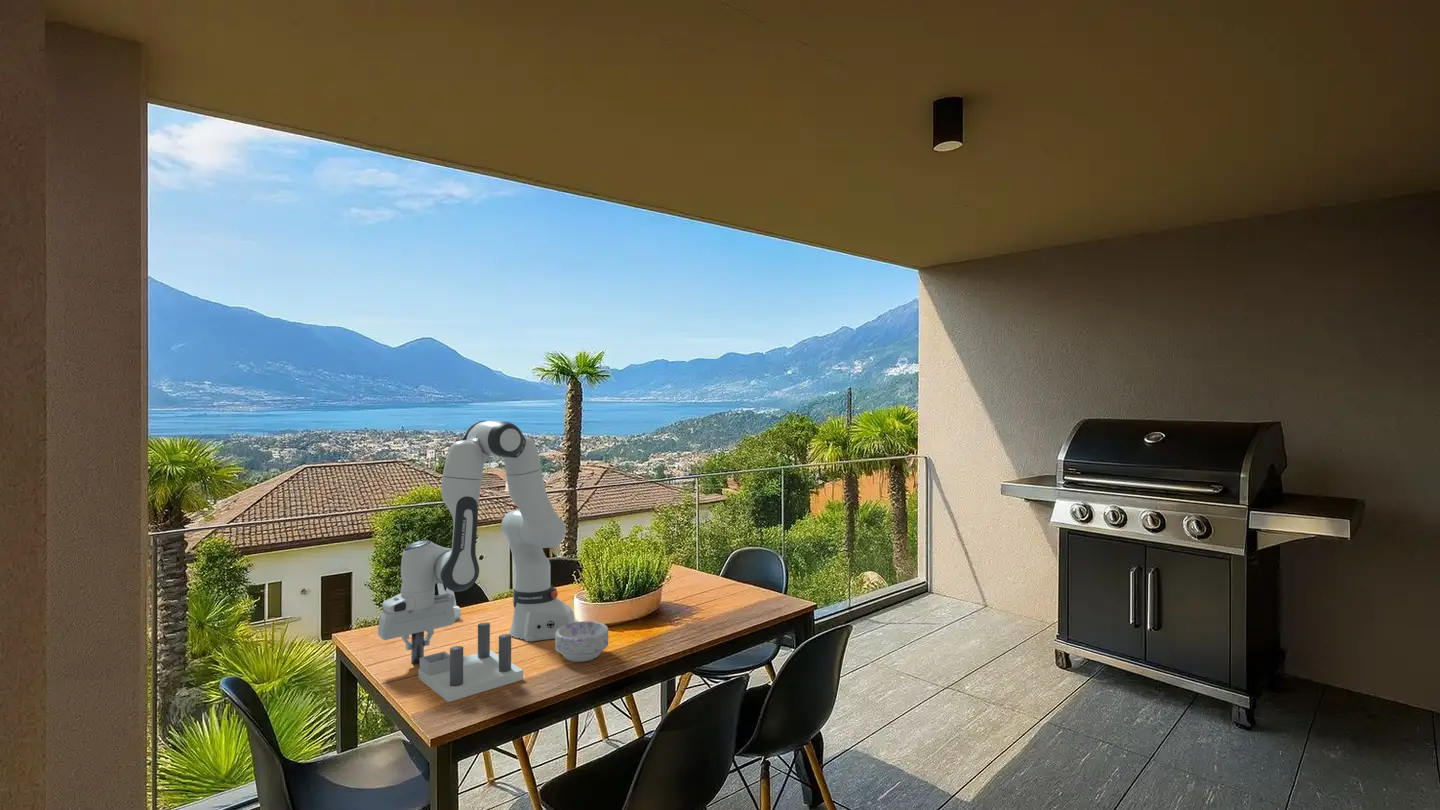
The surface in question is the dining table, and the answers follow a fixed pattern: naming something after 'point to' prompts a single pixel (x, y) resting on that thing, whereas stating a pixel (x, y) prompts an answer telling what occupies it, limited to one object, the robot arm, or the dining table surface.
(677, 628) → the dining table surface
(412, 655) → the stool leg
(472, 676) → the stool seat
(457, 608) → the plastic part
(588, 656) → the paper bowls
